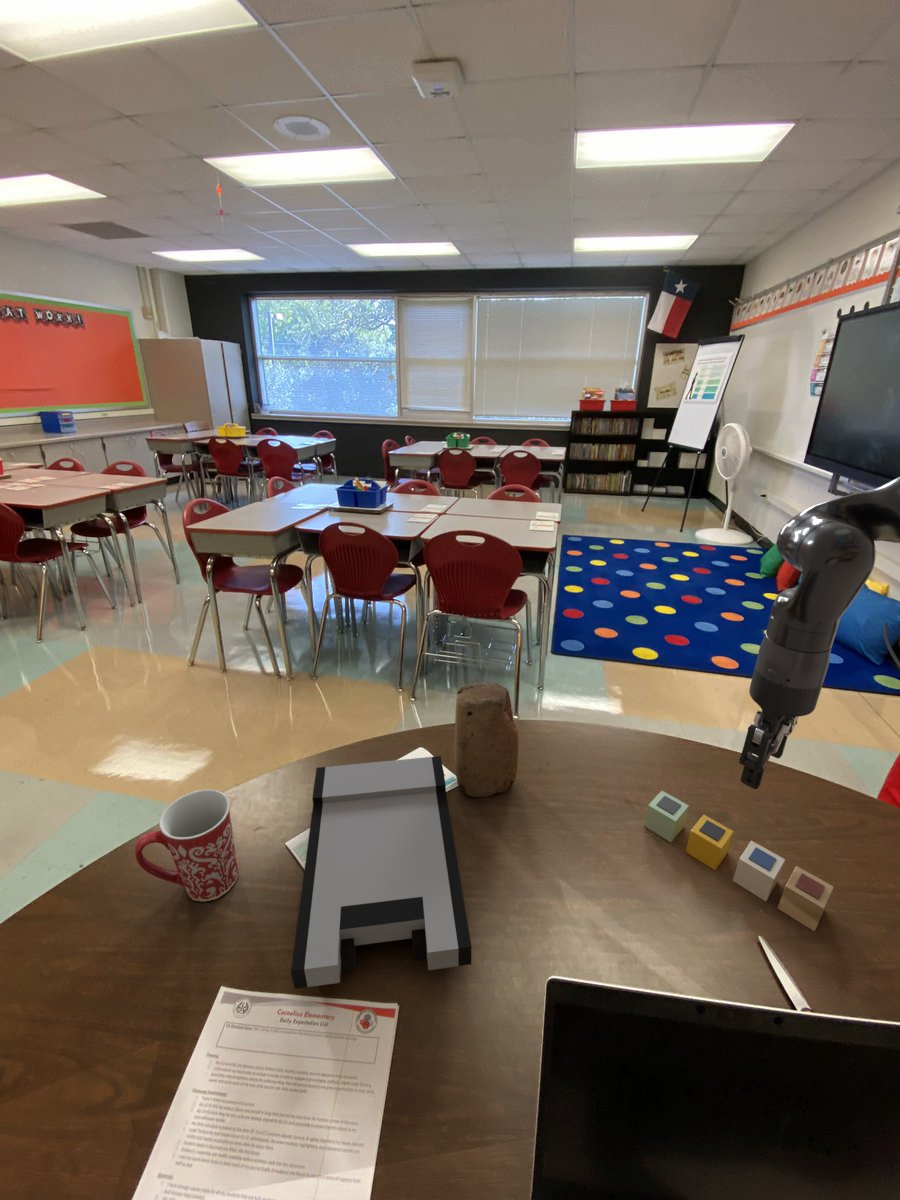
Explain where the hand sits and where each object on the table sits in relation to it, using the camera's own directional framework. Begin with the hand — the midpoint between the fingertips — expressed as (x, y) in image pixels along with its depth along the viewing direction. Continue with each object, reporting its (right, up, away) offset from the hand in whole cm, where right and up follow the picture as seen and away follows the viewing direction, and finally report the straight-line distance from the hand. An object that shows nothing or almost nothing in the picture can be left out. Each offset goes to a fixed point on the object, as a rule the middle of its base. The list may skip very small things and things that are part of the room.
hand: (761, 769), depth 75 cm
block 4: (+5, -19, 0) cm, 20 cm away
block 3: (+1, -18, +4) cm, 18 cm away
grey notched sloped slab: (-53, -18, +5) cm, 56 cm away
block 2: (-8, -13, +13) cm, 21 cm away
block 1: (-37, -10, +22) cm, 44 cm away
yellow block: (-4, -16, +8) cm, 18 cm away
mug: (-80, -18, +4) cm, 82 cm away
